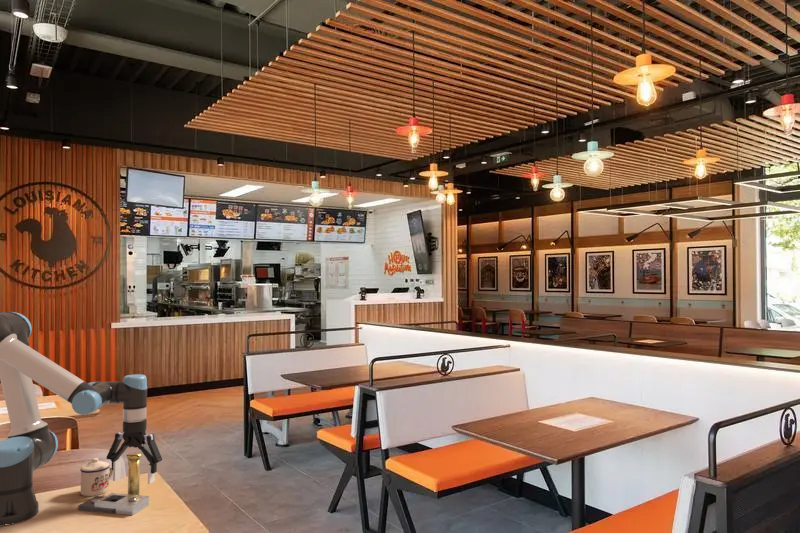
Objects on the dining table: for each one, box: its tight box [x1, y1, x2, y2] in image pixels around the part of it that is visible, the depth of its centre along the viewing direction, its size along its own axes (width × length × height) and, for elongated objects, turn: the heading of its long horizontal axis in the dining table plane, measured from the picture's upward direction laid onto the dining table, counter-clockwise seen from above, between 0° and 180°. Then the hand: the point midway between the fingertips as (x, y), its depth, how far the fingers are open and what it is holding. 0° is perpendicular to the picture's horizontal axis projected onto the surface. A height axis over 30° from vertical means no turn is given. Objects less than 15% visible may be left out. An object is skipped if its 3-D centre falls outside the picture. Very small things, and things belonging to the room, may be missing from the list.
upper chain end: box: [94, 492, 150, 516], centre depth 183 cm, size 14×8×4 cm, turn 78°
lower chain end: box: [77, 495, 118, 514], centre depth 184 cm, size 14×8×2 cm, turn 78°
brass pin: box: [126, 452, 143, 495], centre depth 195 cm, size 5×5×14 cm
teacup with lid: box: [80, 457, 113, 497], centre depth 199 cm, size 12×9×12 cm
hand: (133, 481), depth 195 cm, fingers open, 13 cm apart
